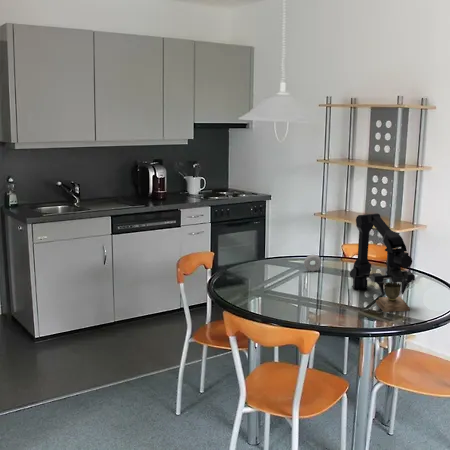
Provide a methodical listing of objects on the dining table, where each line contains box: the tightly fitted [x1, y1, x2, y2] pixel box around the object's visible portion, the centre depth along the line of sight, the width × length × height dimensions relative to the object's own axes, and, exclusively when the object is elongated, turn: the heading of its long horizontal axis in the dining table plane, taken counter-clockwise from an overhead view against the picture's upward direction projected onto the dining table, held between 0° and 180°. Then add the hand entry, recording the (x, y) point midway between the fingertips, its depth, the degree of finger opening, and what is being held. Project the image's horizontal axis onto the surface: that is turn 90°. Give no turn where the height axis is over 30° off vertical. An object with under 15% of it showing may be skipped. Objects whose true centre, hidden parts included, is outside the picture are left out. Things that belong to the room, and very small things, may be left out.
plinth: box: [375, 295, 411, 313], centre depth 271 cm, size 12×12×3 cm
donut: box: [303, 254, 322, 273], centre depth 329 cm, size 10×4×10 cm, turn 97°
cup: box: [383, 281, 402, 301], centre depth 270 cm, size 8×7×8 cm
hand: (392, 294), depth 270 cm, fingers open, 9 cm apart
